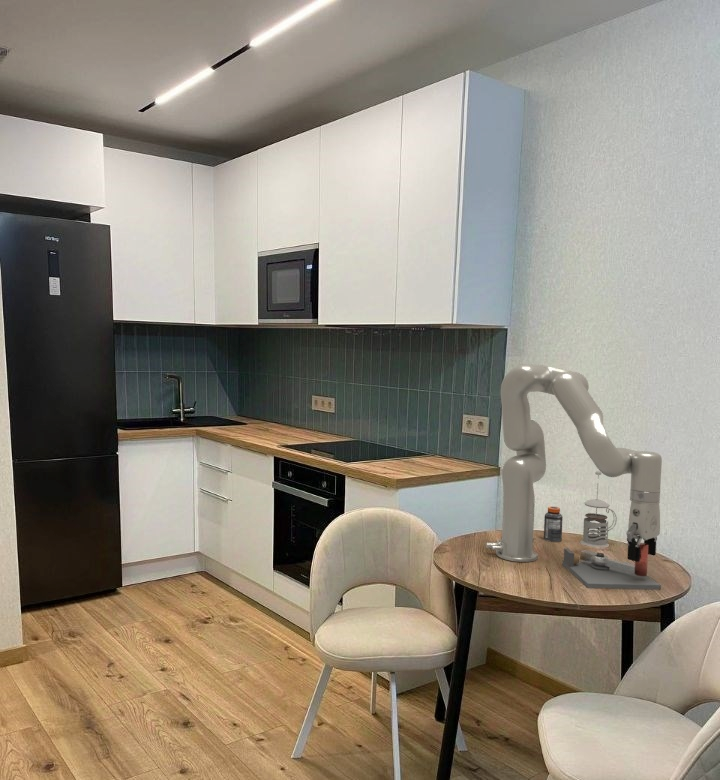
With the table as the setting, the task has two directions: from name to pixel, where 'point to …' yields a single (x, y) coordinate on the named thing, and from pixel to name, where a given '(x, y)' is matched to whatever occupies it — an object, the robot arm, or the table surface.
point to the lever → (603, 560)
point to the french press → (593, 538)
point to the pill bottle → (553, 525)
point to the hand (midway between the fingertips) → (641, 557)
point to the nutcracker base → (605, 575)
